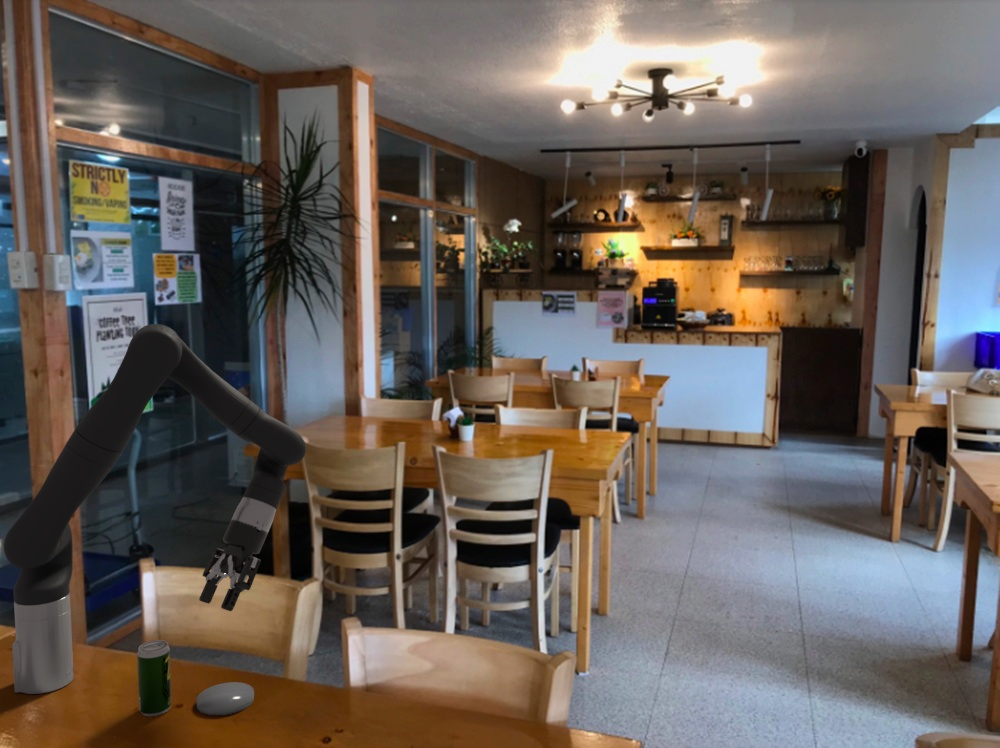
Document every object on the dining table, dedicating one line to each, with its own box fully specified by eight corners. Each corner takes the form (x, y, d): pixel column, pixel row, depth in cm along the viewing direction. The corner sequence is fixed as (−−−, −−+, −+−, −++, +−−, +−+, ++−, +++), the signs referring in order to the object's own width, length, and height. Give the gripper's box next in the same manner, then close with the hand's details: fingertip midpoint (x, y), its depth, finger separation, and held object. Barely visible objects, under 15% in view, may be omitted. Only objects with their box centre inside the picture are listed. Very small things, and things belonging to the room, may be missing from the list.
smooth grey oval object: (193, 719, 138) (193, 712, 138) (199, 691, 148) (199, 685, 148) (252, 711, 141) (252, 705, 141) (255, 685, 151) (255, 679, 151)
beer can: (142, 721, 138) (139, 655, 137) (137, 707, 142) (134, 644, 141) (174, 712, 141) (172, 648, 140) (168, 699, 145) (166, 637, 144)
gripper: (216, 515, 157) (180, 594, 151) (254, 521, 148) (216, 606, 142) (246, 528, 162) (213, 605, 156) (285, 535, 153) (250, 618, 147)
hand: (214, 606), depth 149 cm, fingers open, 8 cm apart
